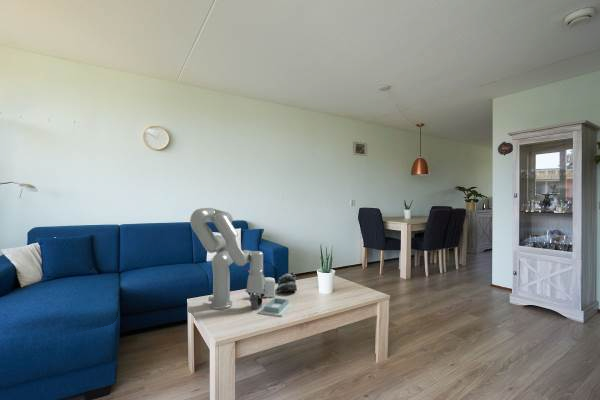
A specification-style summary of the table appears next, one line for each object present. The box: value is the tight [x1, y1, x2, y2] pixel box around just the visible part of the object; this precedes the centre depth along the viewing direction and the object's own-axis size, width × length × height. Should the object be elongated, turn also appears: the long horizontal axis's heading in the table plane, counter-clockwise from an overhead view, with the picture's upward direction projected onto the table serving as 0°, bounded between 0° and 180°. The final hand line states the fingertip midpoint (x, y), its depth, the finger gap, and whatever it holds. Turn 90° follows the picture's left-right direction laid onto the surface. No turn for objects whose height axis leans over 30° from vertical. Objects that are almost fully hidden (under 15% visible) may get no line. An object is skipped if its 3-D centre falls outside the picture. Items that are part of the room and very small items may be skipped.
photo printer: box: [262, 276, 276, 298], centre depth 186 cm, size 10×4×12 cm, turn 98°
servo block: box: [248, 293, 263, 311], centre depth 168 cm, size 4×10×8 cm, turn 161°
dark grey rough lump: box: [276, 272, 298, 294], centre depth 197 cm, size 15×12×14 cm
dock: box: [258, 297, 294, 318], centre depth 166 cm, size 14×18×4 cm
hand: (256, 303), depth 168 cm, fingers closed on servo block, 4 cm apart
